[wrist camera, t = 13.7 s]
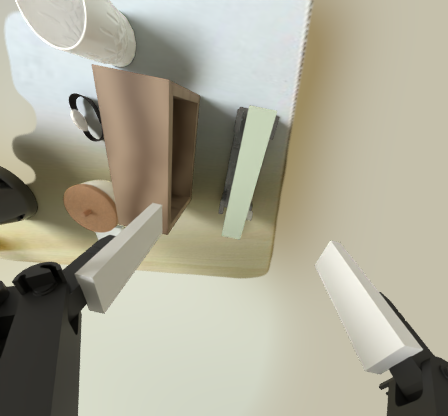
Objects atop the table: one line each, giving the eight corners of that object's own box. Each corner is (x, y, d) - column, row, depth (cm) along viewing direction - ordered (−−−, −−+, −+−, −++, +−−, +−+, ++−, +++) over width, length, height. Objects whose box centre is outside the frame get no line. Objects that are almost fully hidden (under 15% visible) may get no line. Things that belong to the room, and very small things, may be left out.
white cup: (109, 78, 28) (47, 61, 19) (80, 15, 25) (-10, -41, 16) (148, 62, 26) (101, 34, 18) (123, -8, 23) (49, -86, 14)
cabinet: (156, 192, 38) (118, 224, 26) (154, 86, 28) (91, 64, 17) (191, 199, 38) (167, 234, 26) (200, 95, 28) (168, 79, 16)
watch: (73, 98, 30) (53, 95, 27) (94, 92, 30) (76, 88, 26) (95, 142, 34) (80, 144, 31) (115, 137, 33) (101, 139, 30)
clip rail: (221, 204, 37) (218, 215, 33) (239, 107, 28) (238, 105, 24) (247, 209, 37) (248, 221, 33) (275, 114, 28) (280, 113, 24)
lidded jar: (146, 196, 39) (120, 217, 30) (126, 221, 43) (97, 246, 35) (105, 163, 36) (63, 176, 28) (87, 194, 40) (47, 213, 32)
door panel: (248, 110, 27) (249, 105, 18) (273, 115, 27) (288, 113, 18) (227, 204, 36) (221, 235, 26) (246, 208, 36) (247, 241, 26)
